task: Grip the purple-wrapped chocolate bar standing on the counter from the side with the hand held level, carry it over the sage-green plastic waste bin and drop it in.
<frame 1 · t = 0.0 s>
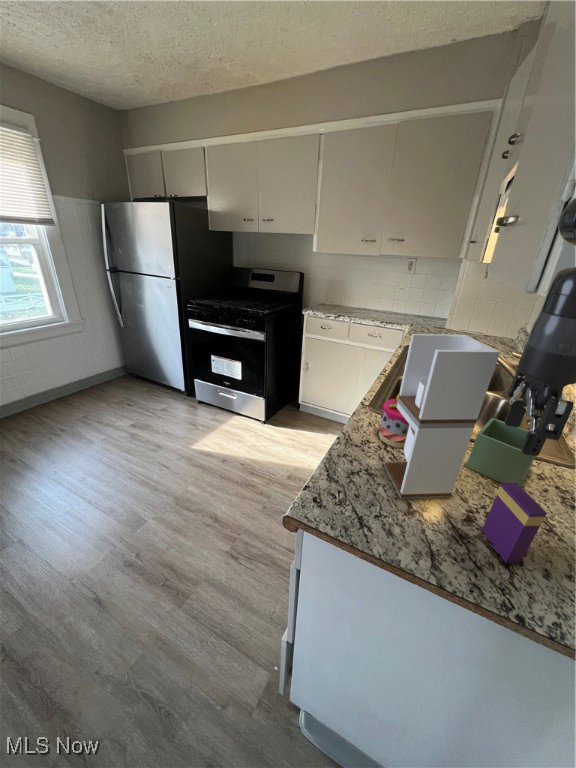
hand: (519, 438, 52), 23 cm above the counter, tool pointing down, fingers open, 8 cm apart
cake: (395, 440, 90), on the counter
display case: (414, 484, 74), on the counter
chocolate bar: (498, 548, 59), on the counter
waste bin: (496, 470, 80), on the counter
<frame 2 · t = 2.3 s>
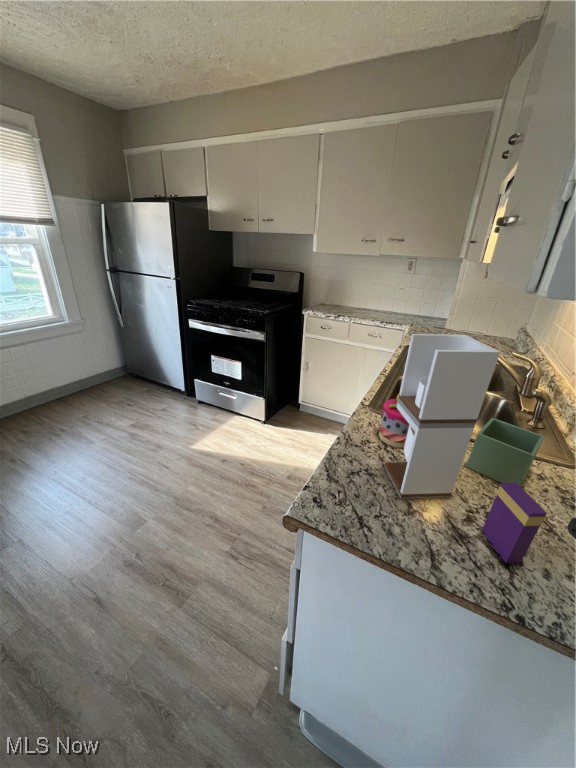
nothing on the counter moved.
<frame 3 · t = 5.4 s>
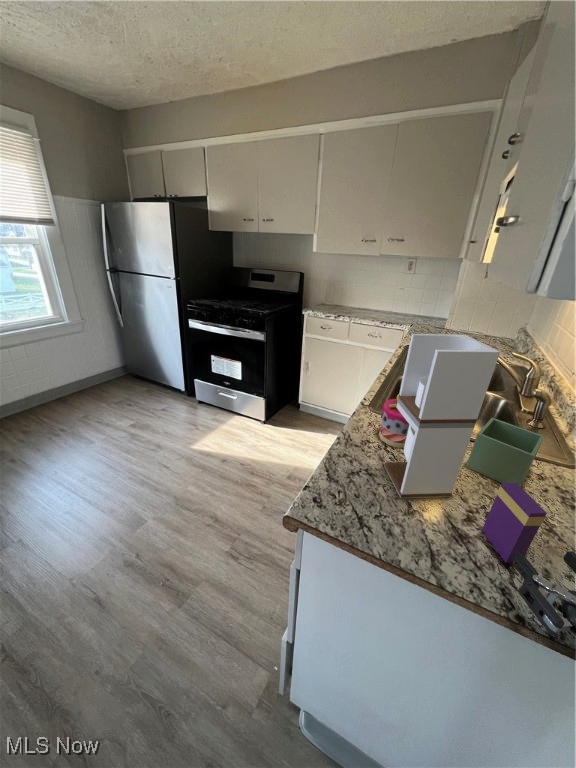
hand: (541, 555, 50), 7 cm above the counter, tool horizontal, fingers open, 8 cm apart
nothing on the counter moved.
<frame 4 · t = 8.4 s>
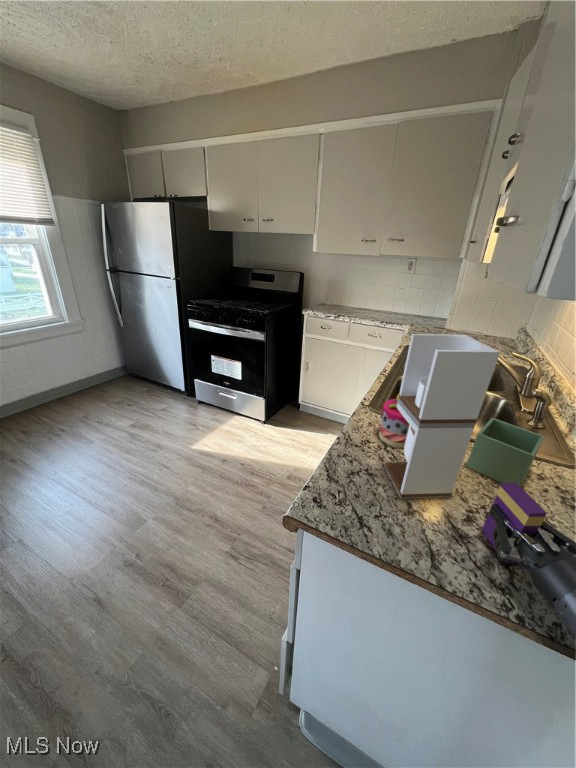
hand: (501, 507, 59), 7 cm above the counter, tool horizontal, fingers closed on chocolate bar, 3 cm apart
chocolate bar: (498, 548, 59), on the counter, touching gripper
everything else where it was.
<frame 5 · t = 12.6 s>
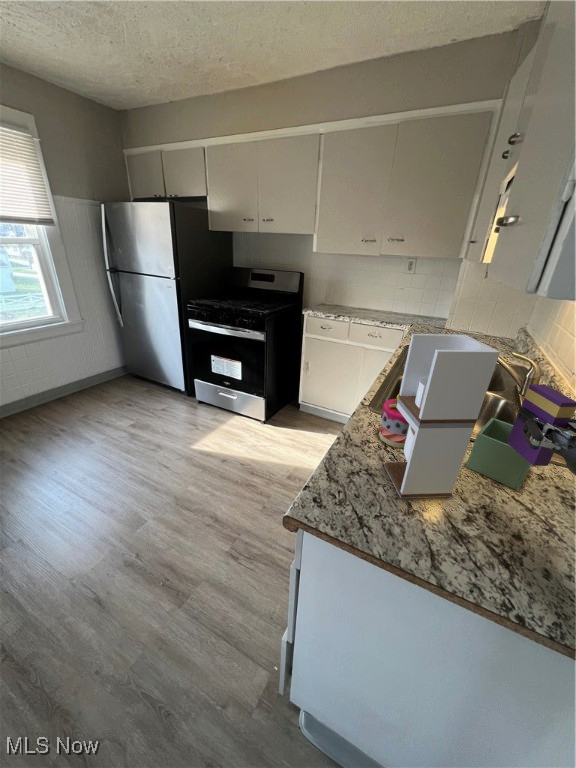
hand: (528, 411, 59), 24 cm above the counter, tool horizontal, fingers closed on chocolate bar, 3 cm apart
chocolate bar: (526, 453, 60), point 16 cm above the counter, touching gripper
everything else where it was.
when the fingers open (16 cm above the counter, at t = 17.1 s): chocolate bar drops 8 cm, resting on waste bin.
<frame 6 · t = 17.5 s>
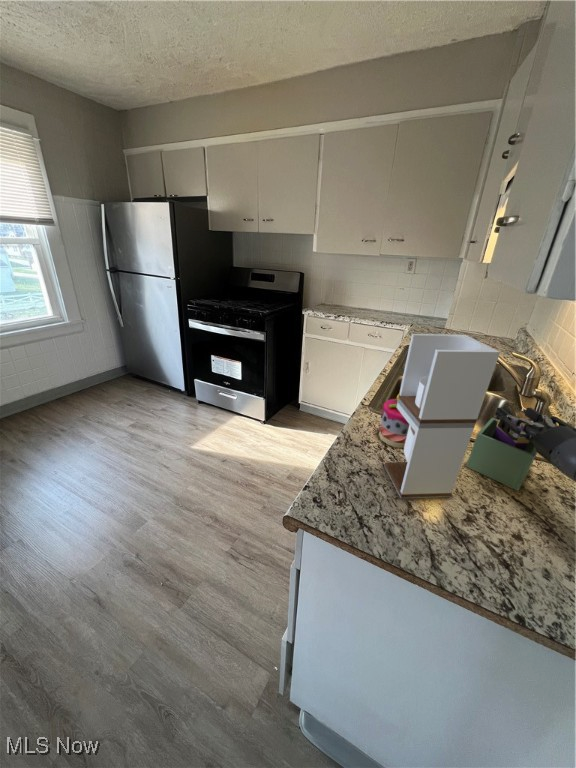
hand: (512, 410, 75), 16 cm above the counter, tool horizontal, fingers open, 6 cm apart
chocolate bar: (498, 467, 79), point 1 cm above the counter, touching waste bin
everything else where it was.
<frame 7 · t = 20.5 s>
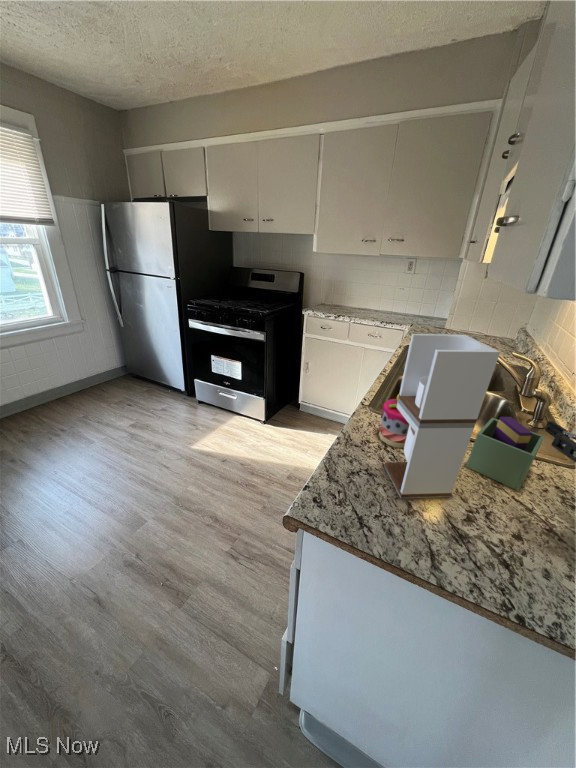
hand: (568, 424, 61), 21 cm above the counter, tool horizontal, fingers open, 8 cm apart
nothing on the counter moved.
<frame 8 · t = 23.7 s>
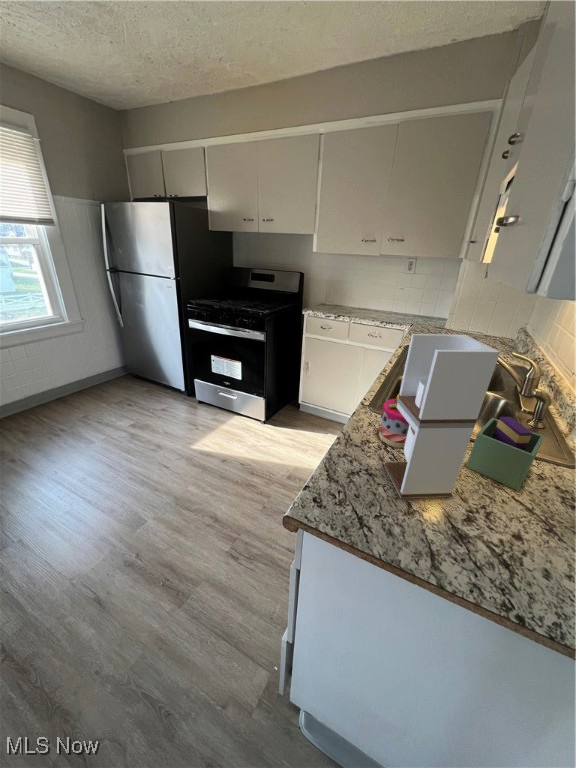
nothing on the counter moved.
at the end: chocolate bar inside the target area in the waste bin (0.1 cm from its centre), point 0.8 cm above the waste bin's base; the gripper is holding nothing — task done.
